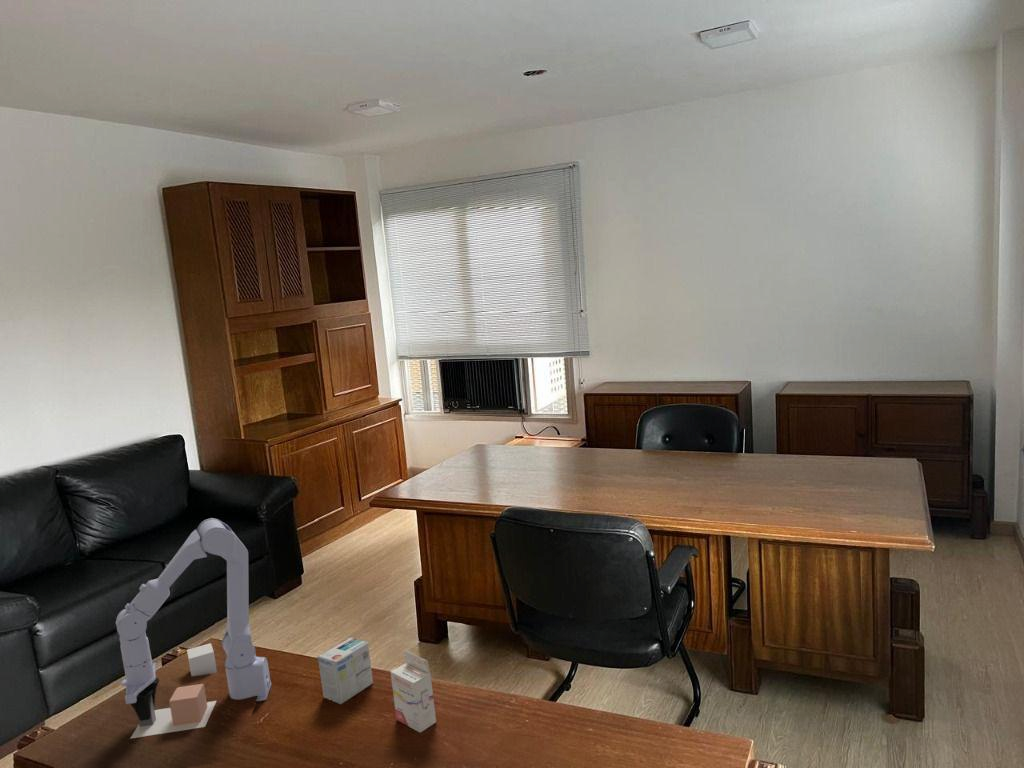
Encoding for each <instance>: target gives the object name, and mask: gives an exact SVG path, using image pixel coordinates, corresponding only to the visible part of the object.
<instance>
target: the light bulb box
mask: <svg viewBox="0 0 1024 768" xmlns="http://www.w3.org/2000/svg"><path fill="white" fill-rule="evenodd" d="M317 660H318V667H319V675H320V681H321V688H322V694H323V698H324V699H326V698H327V699H326V700H329V701H331V700H332V702H334V703H337V704H339V705H342V704H344V703H346V702H347V701H348V700H350V699H352V698H353V697H354V696H356V695H358V694H359V693H360V692H362V691H364V690H365V689H367V688H368V687H369V686H371V685H372V684H373V683H374V680H373V670H372V663H371V656H370V649H369V642H368V641H364V640H360V639H356V638H354V637H348V638H346V639H345V640H343V641H342V642H339V644H337V645H335V646H334V647H332V648H331V649H328V650H327V651H325V652H324V653H321V654H319V655H318V656H317Z"/></svg>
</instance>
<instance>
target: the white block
mask: <svg viewBox="0 0 1024 768" xmlns="http://www.w3.org/2000/svg"><path fill="white" fill-rule="evenodd" d="M186 654H187V660H188V666H189V672H190V675H191V677H196V676H197V677H198V676H203V675H204V676H205V675H210V674H217V673H218V669H217V664H216V658H215V652H214V649H213V645H212V643H207V644H203V645H199V646H195V647H193V648H189V649H186Z"/></svg>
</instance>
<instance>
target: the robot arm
mask: <svg viewBox="0 0 1024 768" xmlns="http://www.w3.org/2000/svg"><path fill="white" fill-rule="evenodd" d="M206 553H208V554H211V555H215V556H219V557H221V558H222V559H224V560H225V561H226V605H227V606H226V607H227V611H226V614H227V617H226V620H227V621H226V624H225V633H224V635H223V637H222V639H221V646H222V649H223V651H224V652H225V654H226V659H225V660H224V668H225V674H226V681H227V688H228V693H229V698H231V699H233V700H244V699H245V700H246V699H248V698H252V697H256V696H257V697H256V699H255V702H256V703H257V702H262V701H263V702H264V701H266V700H267V698H268V695H269V692H270V689H271V686H272V682H271V681H272V680H271V676H270V669H269V662H268V659H267V657H265V656H257V655H256V647H255V646H254V644H253V642H252V633H251V627H250V619H249V618H250V617H249V615H250V614H249V613H250V612H249V611H250V609H249V606H250V605H249V603H250V602H249V592H250V591H249V551H248V549H247V548H246V545H244V543H243V542H242V541H241V540H240V539H239V537H238V536H237V535H236V533H235V532H234V531H233V530H232V528H231V527H230V526H229V525H228V524H226V523H225V522H223V521H222V520H220V519H218V518H213V517H210V518H207V519H204V520H203V521H201V522H200V523H199V525H198V527H197V528H196V529H194V530H193V531H192V532H191V533H190V534H189V536H188V537H187V538H186V540H185V541H184V543H183V544H182V546H180V548H179V549H178V551H177V552H176V553H175V555H174V556H173V558H172V559H171V560H170V561H169V563H168V564H167V566H165V568H164V570H163V571H162V572H161V573H160V574H159V576H158V578H155V579H150V580H148V581H147V582H146V583H142V584H141V585H140V587H138V589H139V592H138V593H137V594H136V596H134V598H133V599H132V600H131V602H130V603H126V604H125V606H124V609H122V610H120V611H119V613H118V614H117V616H116V620H115V626H116V631H117V634H118V636H119V642H120V646H119V647H120V652H121V658H122V665H123V669H124V675H125V678H124V679H123V680H122V682H121V687H125V689H126V690H125V691H126V692H125V695H124V701H125V704H126V705H131V707H132V708H133V710H134V711H135V713H136V716H137V718H138V717H139V719H140V721H143V720H149V719H150V717H151V696H152V699H153V705H154V709H155V707H156V694H157V689H158V687H159V686H158V685H159V683H160V679H159V677H157V676H156V672H157V664H156V662H153V659H152V654H151V650H150V649H151V648H150V647H151V646H150V642H149V637H148V636H147V633H146V631H147V626H148V625H147V624H148V621H150V620H151V619H152V618H153V617H154V615H156V613H157V612H158V610H159V609H160V608H161V607H162V605H163V604H164V603H165V602H166V600H167V599H168V598H169V597H170V595H171V591H170V588H171V586H172V585H173V584H174V583H175V581H176V580H177V579H178V578H179V577H180V576H181V575H182V574H183V573H184V571H186V569H187V568H188V567H189V566H190V564H192V562H193V561H194V560H198V559H203V558H207V557H208V555H207V554H206Z"/></svg>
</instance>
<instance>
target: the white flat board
mask: <svg viewBox="0 0 1024 768" xmlns="http://www.w3.org/2000/svg"><path fill="white" fill-rule="evenodd" d="M216 703H217V700H213V701H207V709H206V712H205V714H204V716H203V718H202V720H201V722H195V723H189V724H182V725H176V726H173V721H172V715H171V709H170V707H168V708H167V707H165V708H159V709H155V708H154V705H153V699H152V696H151V717H150V719H149V720H143V721H140V719H139V717H138V716H137V720H138V724H137V726H136V728H135V730H134V731H133V733H132V735H131V736H130V738H129V739H136V738H143V737H144V738H145V737H147V736H148V737H149V736H155V735H162V734H169V733H174V732H175V733H176V732H181V731H188V730H194V729H200V728H205V727H206V725H207V723H208V721H209V719H210V716H211V714H212V712H213V711H214V708H215V706H216Z"/></svg>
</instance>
